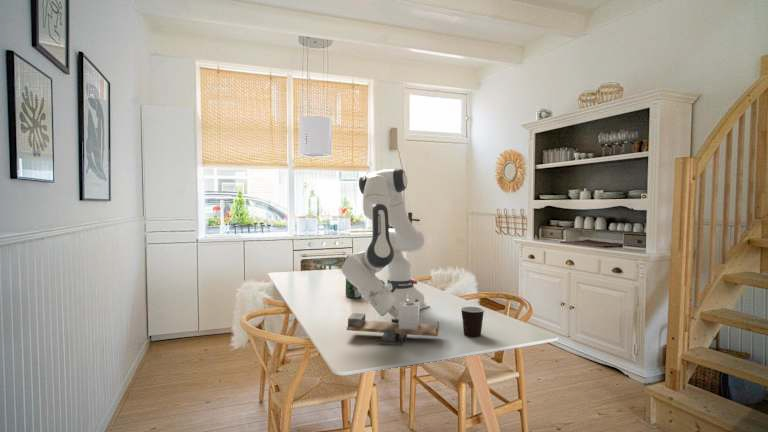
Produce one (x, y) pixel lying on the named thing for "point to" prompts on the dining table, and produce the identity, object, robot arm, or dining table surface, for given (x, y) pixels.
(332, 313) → the dining table surface
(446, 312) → the dining table surface
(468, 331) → the coffee mug
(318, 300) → the dining table surface
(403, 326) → the block
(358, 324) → the beam
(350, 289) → the coffee jar
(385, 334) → the fulcrum
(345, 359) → the dining table surface
